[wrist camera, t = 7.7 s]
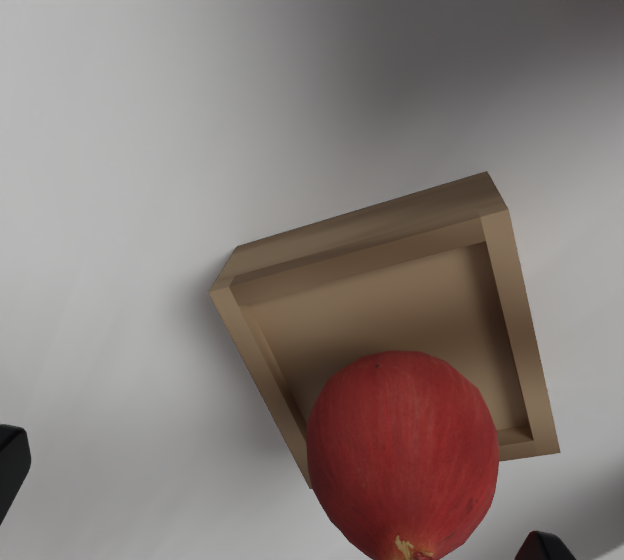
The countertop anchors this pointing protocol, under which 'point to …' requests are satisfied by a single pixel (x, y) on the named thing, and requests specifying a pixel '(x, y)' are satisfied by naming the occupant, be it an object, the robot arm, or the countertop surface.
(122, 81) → the countertop surface
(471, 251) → the wooden tray
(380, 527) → the onion
